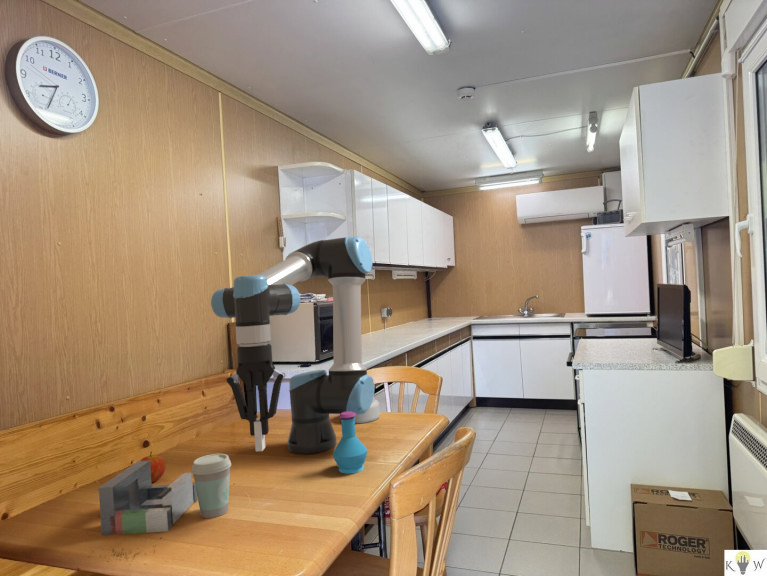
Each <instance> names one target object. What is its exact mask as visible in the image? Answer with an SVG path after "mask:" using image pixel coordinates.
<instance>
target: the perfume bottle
mask: <svg viewBox="0 0 767 576" xmlns="http://www.w3.org/2000/svg"><path fill="white" fill-rule="evenodd" d="M354 416H356V414H355V413H354V412H350V411H349V412H343V413H341V414H338V417H339V419H340V421H341V436H342V437H341V438H340V439H339V442H338V443H337V444H336V447H335V448H334V450H333V452H332V456H333V459H334V461H335V463H336V466H337V467H338V472H339V473H342V474H355V473H359V472H362V471H363V470H364V464H365V463H366V458H367V454H368V448H367V447H366V446H365V445H364V443H363V442H361V441H360V439H359V437H358V436H356V435H357V434H356V424H355V420H354V419H355V417H354ZM340 417H341V418H340Z"/></svg>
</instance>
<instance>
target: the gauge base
mask: <svg viewBox="0 0 767 576" xmlns="http://www.w3.org/2000/svg"><path fill="white" fill-rule="evenodd" d="M152 484H153V482H152V483H151V468H150V461H140V460H138V461H136V462H134V463H133V464H132V465H130V466H128V467H127V468H125V470H122V471H121V472H120V473H118V474H117V475H116V476H113V477H112V478H110V480H108V481H107V482H105V483H104V484H102V485H101V486H99V487H98V496H99V497H98V499H99V513H100V527H101V529H100V530H101V536H113V535H114V536H115V535H130V534H131V535H133V534H145V533H148V534H149V533H165V532H169V531H170V529H172V528H173V527H172V525H173V524H171V510H170V508H154V509H141V507H140V505H142V504H143V503H144V502H145V501H146V500H157V496H158V495H159V494H160V493H161V492H162V491H164V490H165V489H166V488H167V487H168V486H169V485H170V484H156V485H152ZM192 486H193V500H194V502H193V503H196V502H198V497H197V492H196V486H195V482H192Z"/></svg>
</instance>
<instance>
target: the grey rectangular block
mask: <svg viewBox="0 0 767 576" xmlns="http://www.w3.org/2000/svg"><path fill="white" fill-rule="evenodd" d="M192 483H193V473H192V472H185V473H184V472H183V473H182V474H180V475H179V476H178V477H177V478H175V480H174V481H173V482H171V483H170V484H168V485H169V486H168V487H167V488H166V489H165V490H164V491H162V492H161V493H160V494H159V495H158V496H157V500H146V501H145V502H144V503H143V504H142V505H140V507H141V509H154V508H170V510H171V524H172V525H174V524H175V523H176V522H177V521H178V520H179V519H180V518H181V516H183V514H184V513H185V512H186V511H187V510H188V509H189V508H190V507H191V506H192V505H193V504H194V503H195V502H194V500H193V486H192Z"/></svg>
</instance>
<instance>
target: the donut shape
mask: <svg viewBox="0 0 767 576" xmlns="http://www.w3.org/2000/svg"><path fill="white" fill-rule="evenodd" d="M380 409H381V408H380V401H378V400H377V399H375V398H373V401H372V404H371V406H370V408H369V409H368V410H367V411H366V412H365V413H364V414H361V415H356V416H354V417H355V419H354V420H355V425H356V424H357V425H358V424H359V425H360V424H366V423H371V422H374V421H376V420H378V419H379V418H380V417H381V410H380ZM340 418H341V417H339V419H340Z"/></svg>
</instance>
